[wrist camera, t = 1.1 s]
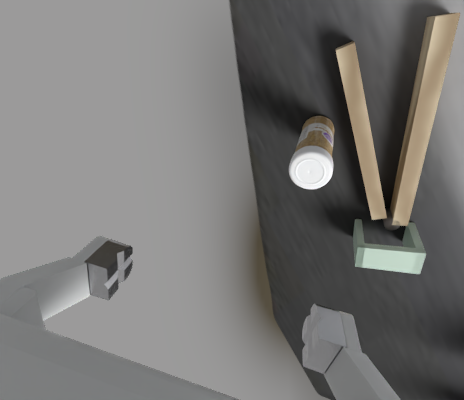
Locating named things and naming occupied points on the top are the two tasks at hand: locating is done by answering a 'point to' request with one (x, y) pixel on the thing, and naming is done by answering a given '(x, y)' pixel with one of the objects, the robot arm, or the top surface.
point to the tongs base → (421, 114)
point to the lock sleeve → (389, 252)
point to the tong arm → (361, 127)
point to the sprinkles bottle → (313, 154)
